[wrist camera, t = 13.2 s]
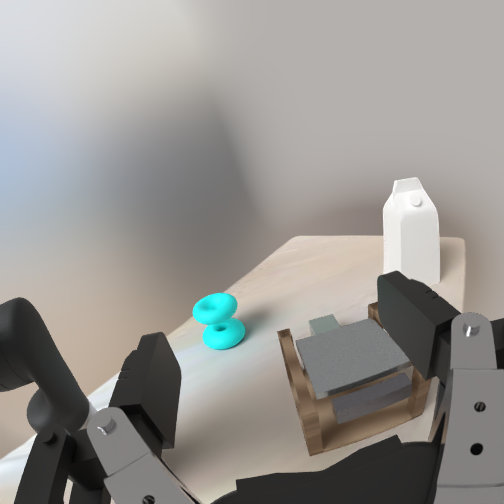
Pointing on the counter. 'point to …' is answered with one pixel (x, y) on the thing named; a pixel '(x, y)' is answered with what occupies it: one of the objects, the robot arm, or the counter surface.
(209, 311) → the donuts
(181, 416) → the counter surface
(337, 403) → the trapdoor
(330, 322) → the soapstone block
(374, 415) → the frame
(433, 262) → the milk
